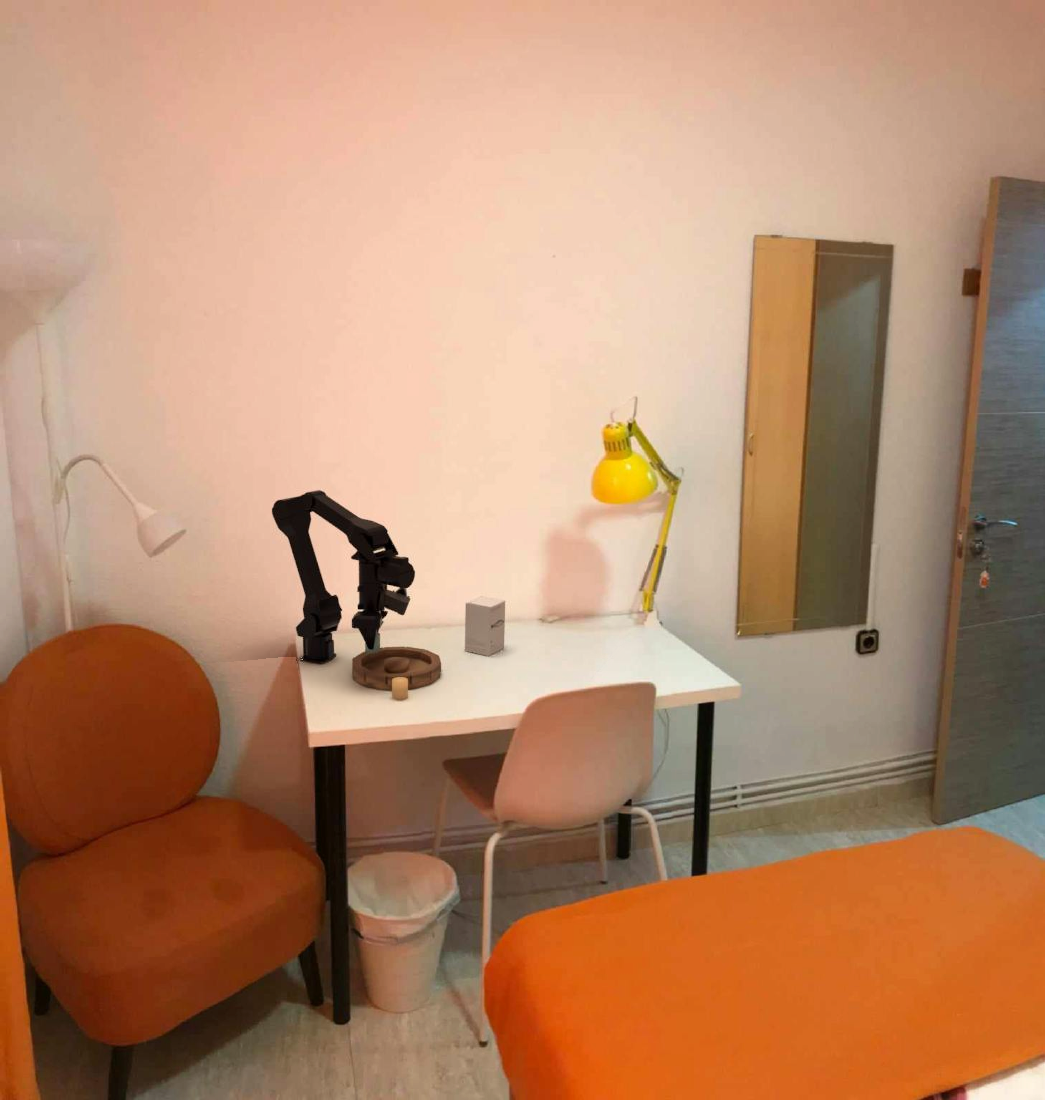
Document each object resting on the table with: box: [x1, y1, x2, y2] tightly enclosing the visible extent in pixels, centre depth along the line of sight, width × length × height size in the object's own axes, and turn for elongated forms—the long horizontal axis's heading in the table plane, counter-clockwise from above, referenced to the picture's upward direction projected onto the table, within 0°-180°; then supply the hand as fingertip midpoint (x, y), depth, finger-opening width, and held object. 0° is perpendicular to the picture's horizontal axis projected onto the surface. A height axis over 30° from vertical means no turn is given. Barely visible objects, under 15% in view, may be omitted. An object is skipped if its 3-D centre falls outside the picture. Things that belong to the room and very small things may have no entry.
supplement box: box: [464, 596, 506, 657], centre depth 245 cm, size 7×7×13 cm
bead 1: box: [364, 632, 381, 653], centre depth 227 cm, size 3×3×4 cm
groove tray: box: [351, 646, 442, 691], centre depth 228 cm, size 20×20×3 cm
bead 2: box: [391, 677, 409, 701], centre depth 215 cm, size 3×3×4 cm
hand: (372, 646), depth 227 cm, fingers closed on bead 1, 3 cm apart
